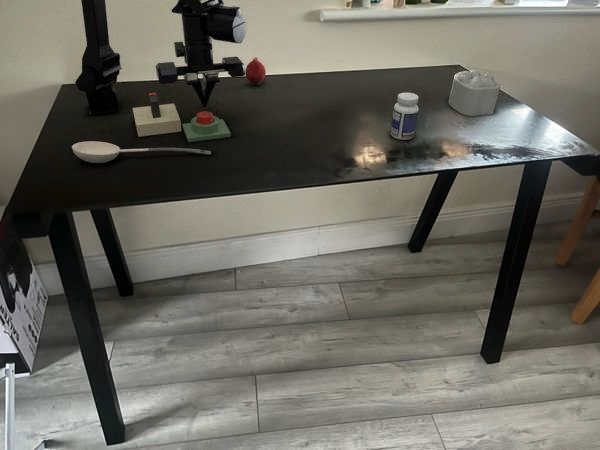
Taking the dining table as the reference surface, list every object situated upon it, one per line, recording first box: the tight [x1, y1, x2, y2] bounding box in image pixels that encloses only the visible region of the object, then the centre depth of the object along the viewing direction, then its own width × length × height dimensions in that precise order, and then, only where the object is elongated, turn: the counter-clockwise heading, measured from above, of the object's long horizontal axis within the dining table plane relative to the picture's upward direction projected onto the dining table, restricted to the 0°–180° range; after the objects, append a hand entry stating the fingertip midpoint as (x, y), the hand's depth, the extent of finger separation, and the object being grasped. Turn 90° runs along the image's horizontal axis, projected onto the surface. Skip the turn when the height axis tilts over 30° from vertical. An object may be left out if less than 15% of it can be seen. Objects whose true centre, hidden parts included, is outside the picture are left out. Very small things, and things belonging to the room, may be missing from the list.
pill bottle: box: [389, 92, 419, 141], centre depth 115 cm, size 6×6×10 cm
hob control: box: [132, 103, 183, 138], centre depth 118 cm, size 10×10×3 cm
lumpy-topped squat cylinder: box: [448, 69, 501, 117], centre depth 132 cm, size 10×13×9 cm
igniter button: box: [196, 110, 214, 125], centre depth 114 cm, size 4×4×2 cm
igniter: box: [181, 114, 232, 143], centre depth 116 cm, size 10×8×3 cm
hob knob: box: [147, 92, 161, 118], centre depth 116 cm, size 5×2×4 cm, turn 19°
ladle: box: [71, 140, 212, 164], centre depth 105 cm, size 6×28×5 cm, turn 101°
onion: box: [245, 56, 267, 86], centre depth 139 cm, size 6×6×8 cm
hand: (204, 106), depth 113 cm, fingers closed
